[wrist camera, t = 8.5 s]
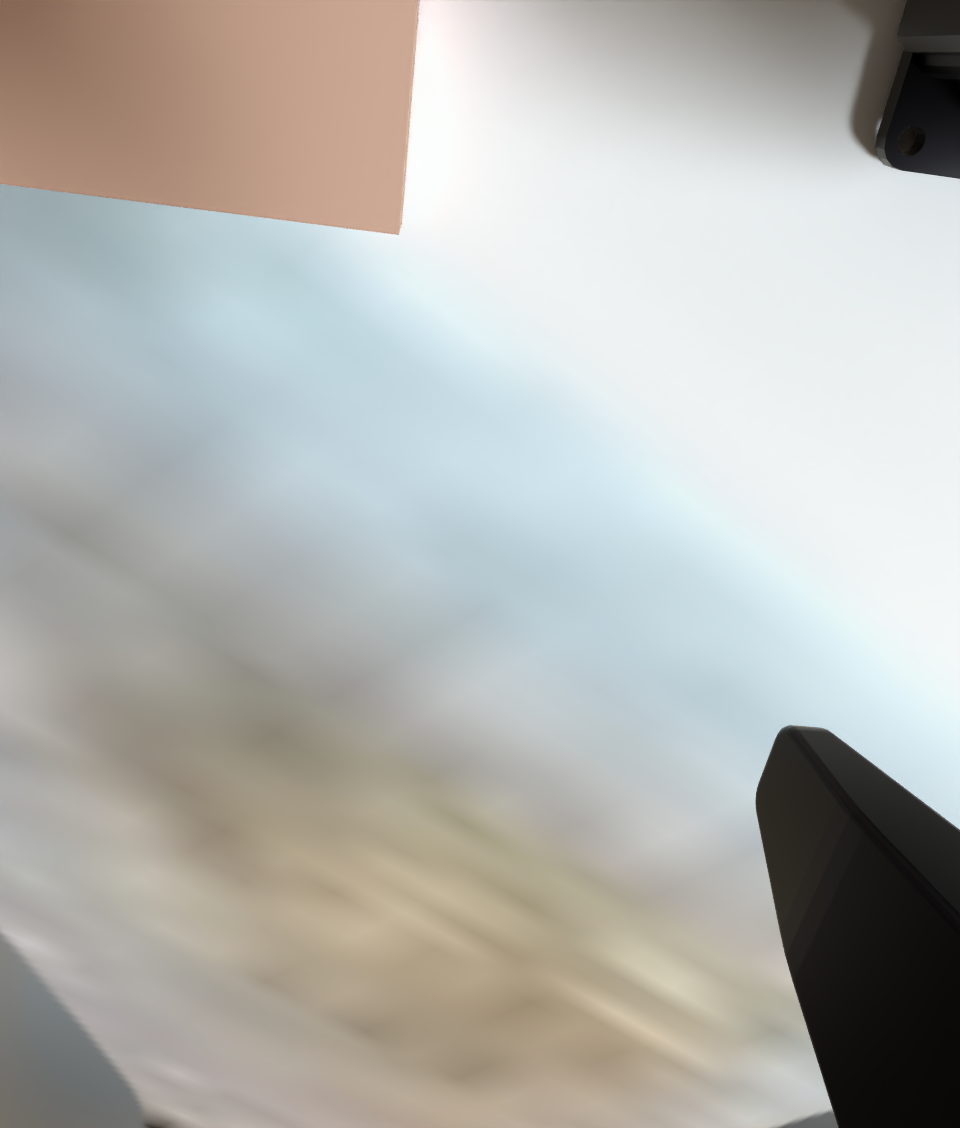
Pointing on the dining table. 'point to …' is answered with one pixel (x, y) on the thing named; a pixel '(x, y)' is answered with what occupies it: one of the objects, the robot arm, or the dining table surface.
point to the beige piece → (213, 104)
